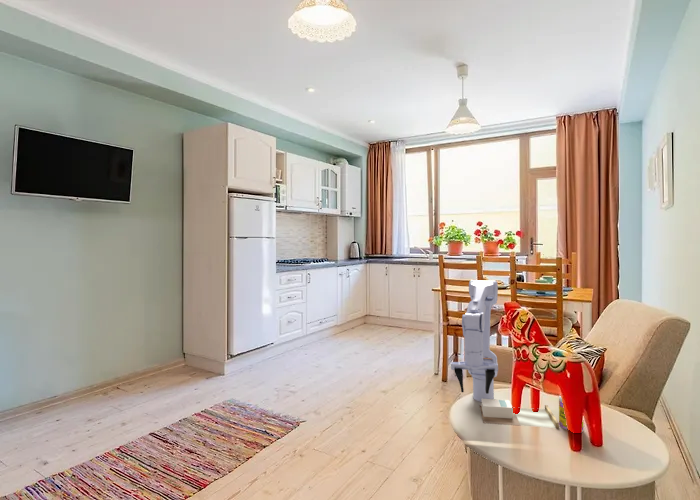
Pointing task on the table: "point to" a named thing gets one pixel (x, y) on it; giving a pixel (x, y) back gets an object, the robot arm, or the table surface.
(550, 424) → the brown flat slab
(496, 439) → the table surface
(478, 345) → the robot arm
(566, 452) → the table surface
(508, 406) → the carton
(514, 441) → the table surface
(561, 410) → the supplement bottle
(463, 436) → the table surface
